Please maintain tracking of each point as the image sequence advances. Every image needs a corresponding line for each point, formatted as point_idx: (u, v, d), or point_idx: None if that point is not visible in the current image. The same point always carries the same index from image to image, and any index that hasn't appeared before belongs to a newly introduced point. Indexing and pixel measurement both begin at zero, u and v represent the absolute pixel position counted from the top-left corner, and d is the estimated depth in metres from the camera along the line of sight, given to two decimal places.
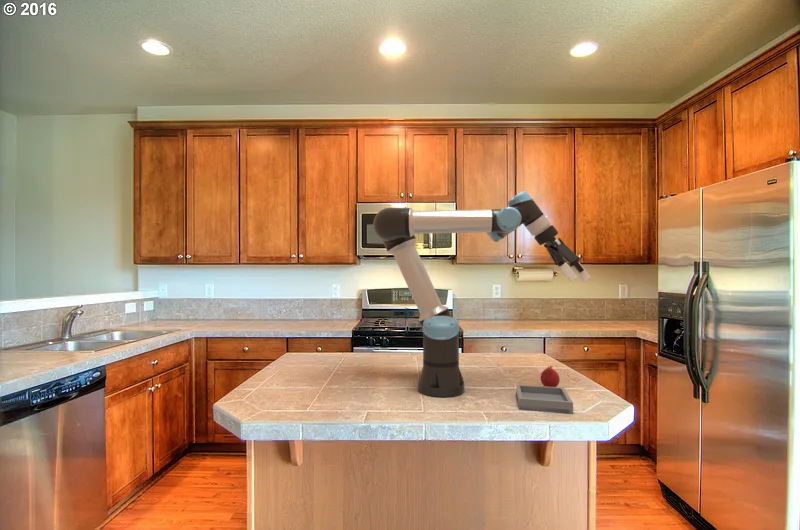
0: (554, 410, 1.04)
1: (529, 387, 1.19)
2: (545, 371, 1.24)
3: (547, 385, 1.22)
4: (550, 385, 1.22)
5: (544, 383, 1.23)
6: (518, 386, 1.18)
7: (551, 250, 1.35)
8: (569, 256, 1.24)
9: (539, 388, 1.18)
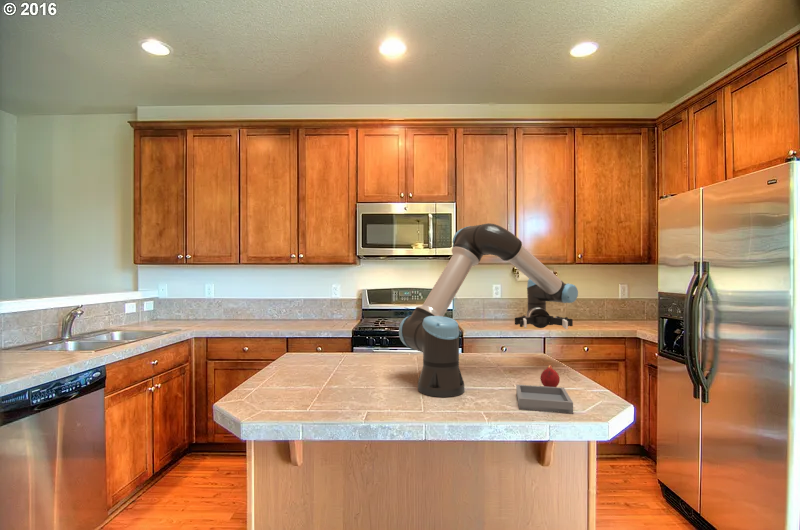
0: (554, 410, 1.04)
1: (529, 387, 1.19)
2: (545, 371, 1.24)
3: (547, 385, 1.22)
4: (550, 385, 1.22)
5: (544, 383, 1.23)
6: (518, 386, 1.18)
7: (537, 316, 1.48)
8: None
9: (539, 388, 1.18)
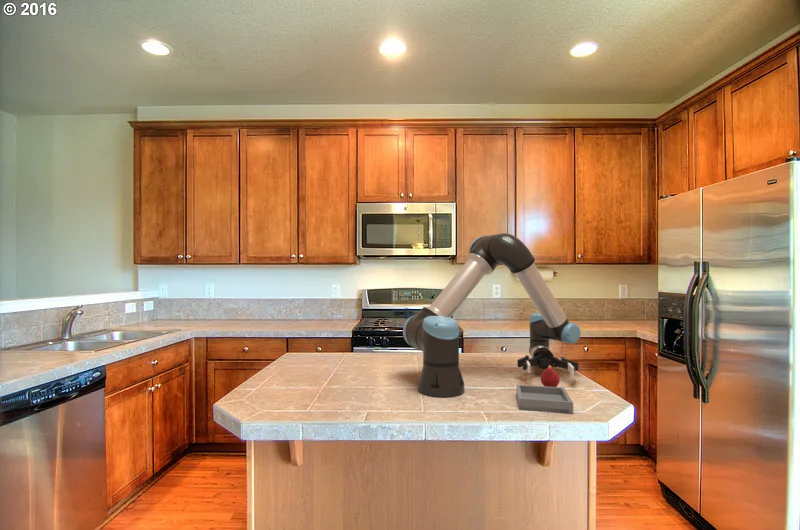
0: (554, 410, 1.04)
1: (529, 387, 1.19)
2: (545, 371, 1.24)
3: (547, 385, 1.22)
4: (550, 385, 1.22)
5: (544, 383, 1.23)
6: (518, 386, 1.18)
7: (540, 357, 1.41)
8: None
9: (539, 388, 1.18)
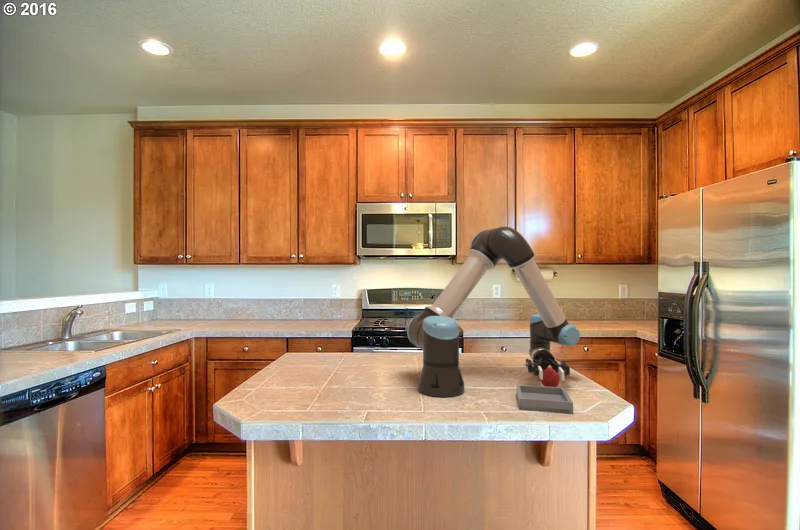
0: (554, 410, 1.04)
1: (529, 387, 1.19)
2: (545, 371, 1.24)
3: (547, 385, 1.22)
4: (550, 385, 1.22)
5: (544, 383, 1.23)
6: (518, 386, 1.18)
7: (542, 360, 1.35)
8: None
9: (539, 388, 1.18)
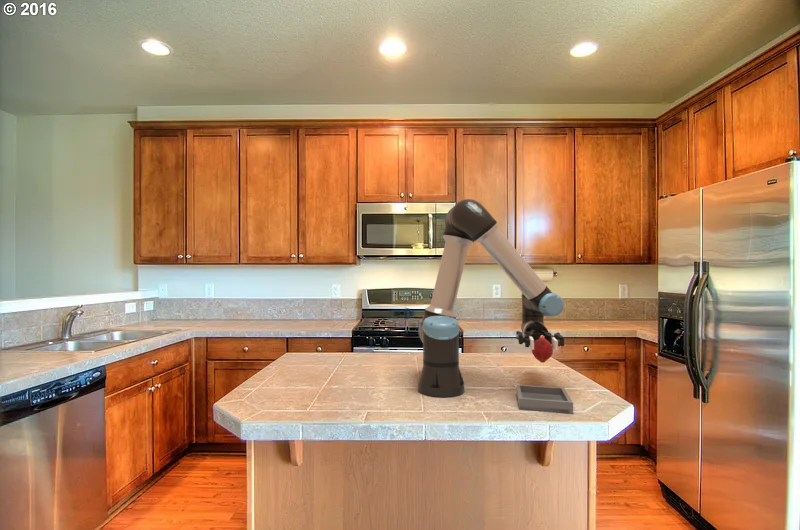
0: (554, 410, 1.04)
1: (529, 387, 1.19)
2: (537, 341, 1.12)
3: (539, 356, 1.10)
4: (543, 356, 1.10)
5: (536, 354, 1.11)
6: (518, 386, 1.18)
7: (534, 332, 1.23)
8: None
9: (539, 388, 1.18)
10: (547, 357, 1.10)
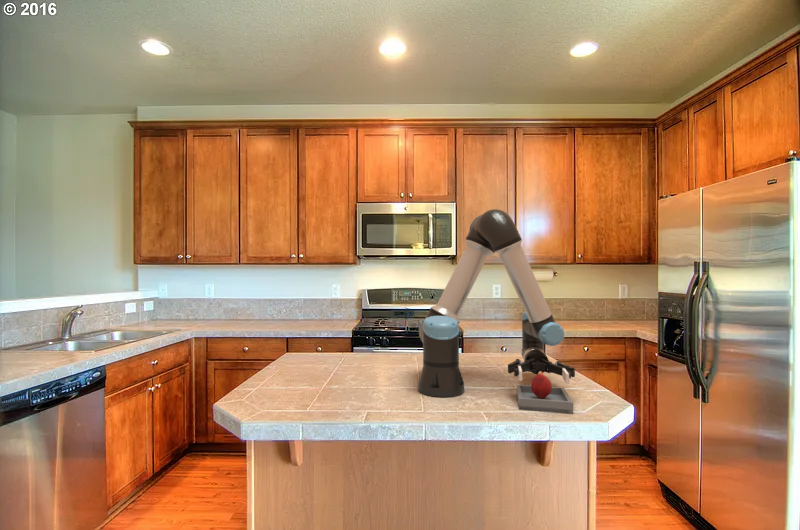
0: (554, 410, 1.04)
1: (529, 387, 1.19)
2: (535, 378, 1.12)
3: (538, 394, 1.10)
4: (542, 394, 1.10)
5: (535, 391, 1.11)
6: (518, 386, 1.18)
7: (533, 361, 1.22)
8: None
9: None
10: (546, 394, 1.10)
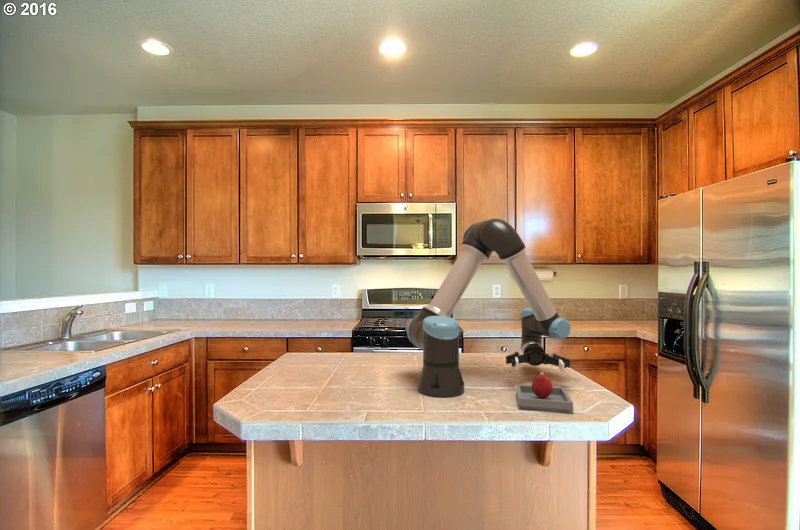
0: (554, 410, 1.04)
1: (529, 387, 1.19)
2: (537, 378, 1.11)
3: (539, 394, 1.10)
4: (542, 394, 1.09)
5: (535, 392, 1.11)
6: (518, 386, 1.18)
7: (531, 353, 1.34)
8: None
9: None
10: (547, 395, 1.10)
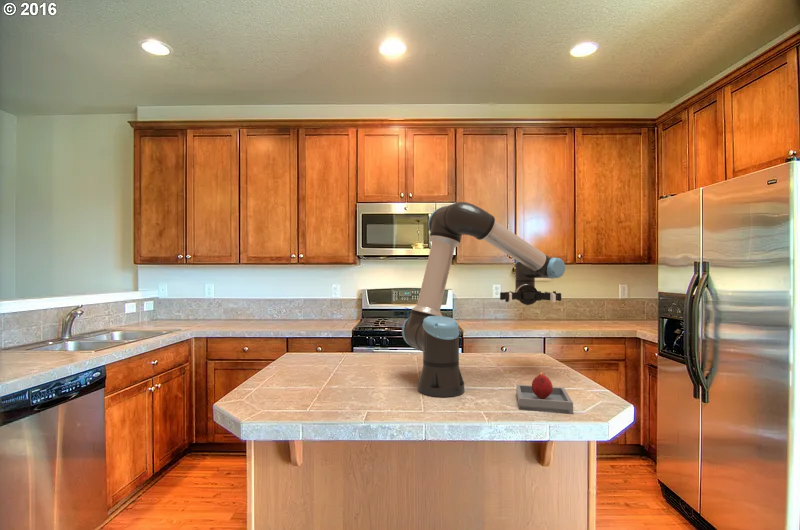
0: (554, 410, 1.04)
1: (529, 387, 1.19)
2: (537, 378, 1.12)
3: (539, 394, 1.10)
4: (542, 394, 1.09)
5: (535, 392, 1.11)
6: (518, 386, 1.18)
7: (524, 291, 1.39)
8: None
9: None
10: (547, 395, 1.10)
